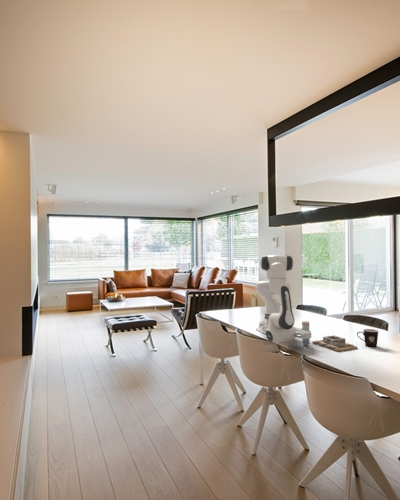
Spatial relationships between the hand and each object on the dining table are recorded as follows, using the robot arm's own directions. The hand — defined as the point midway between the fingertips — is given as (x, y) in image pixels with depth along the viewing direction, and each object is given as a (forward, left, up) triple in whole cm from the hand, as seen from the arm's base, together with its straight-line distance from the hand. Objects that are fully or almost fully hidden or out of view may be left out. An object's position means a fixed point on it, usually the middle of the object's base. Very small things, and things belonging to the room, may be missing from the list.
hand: (306, 331), depth 219 cm
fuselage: (0, -1, -8) cm, 8 cm away
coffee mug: (+18, +34, -9) cm, 40 cm away
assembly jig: (+9, +14, -9) cm, 19 cm away
